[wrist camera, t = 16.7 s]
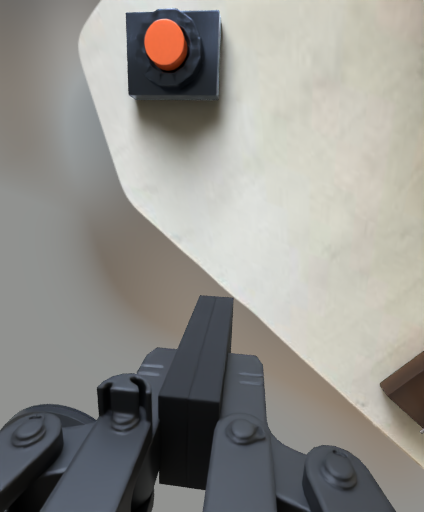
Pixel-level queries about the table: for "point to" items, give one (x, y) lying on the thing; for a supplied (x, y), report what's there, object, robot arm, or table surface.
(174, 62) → the button
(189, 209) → the table surface
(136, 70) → the button box
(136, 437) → the robot arm
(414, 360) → the lever panel
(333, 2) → the table surface
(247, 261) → the table surface
